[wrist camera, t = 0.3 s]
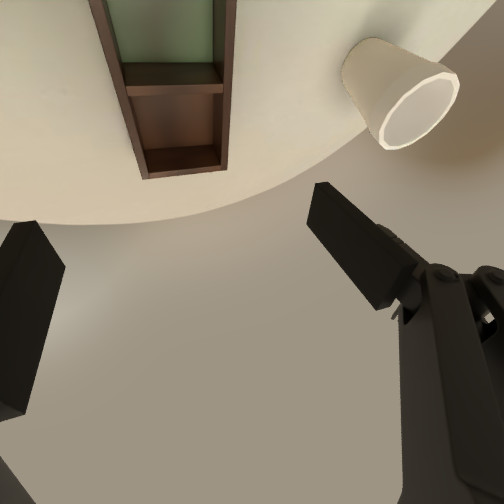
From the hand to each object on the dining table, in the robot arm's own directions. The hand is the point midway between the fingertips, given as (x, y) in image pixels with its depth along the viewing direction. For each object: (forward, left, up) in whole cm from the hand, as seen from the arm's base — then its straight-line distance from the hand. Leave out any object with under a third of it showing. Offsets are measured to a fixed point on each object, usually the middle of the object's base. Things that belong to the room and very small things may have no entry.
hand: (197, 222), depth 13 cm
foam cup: (-17, +23, -27) cm, 40 cm away
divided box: (+2, +4, -27) cm, 27 cm away
